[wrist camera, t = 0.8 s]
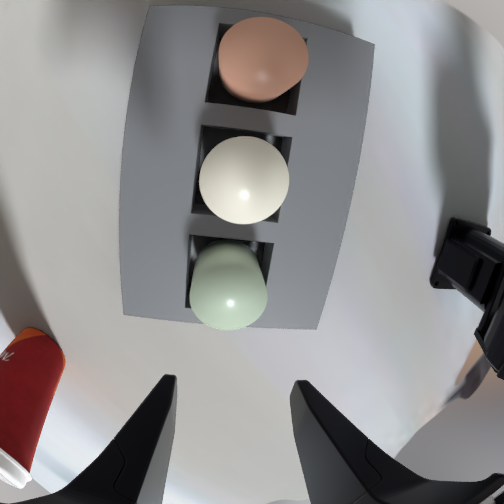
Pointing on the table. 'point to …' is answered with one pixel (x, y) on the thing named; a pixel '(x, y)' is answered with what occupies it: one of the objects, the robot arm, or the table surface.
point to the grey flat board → (242, 119)
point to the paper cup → (25, 400)
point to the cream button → (244, 180)
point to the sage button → (227, 286)
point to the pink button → (261, 59)
